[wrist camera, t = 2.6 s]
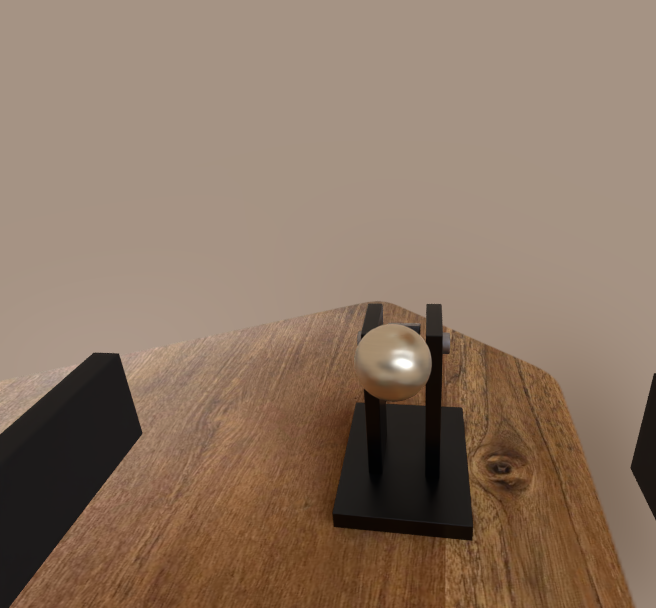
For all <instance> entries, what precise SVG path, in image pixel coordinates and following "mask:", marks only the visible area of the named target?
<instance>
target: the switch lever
mask: <svg viewBox="0 0 656 608" xmlns="http://www.w3.org/2000/svg"><path fill="white" fill-rule="evenodd" d="M431 367H432V359H431V354H430V351H429V348H428V346H427V344H426V342H425V341H424V339H423V338H422V337H421V336H420V323H388V324H386V325H382V326H379V327H376V328H374V329H372V330H371V331H369V332H368V333H367V334H366V335H365V336H364V337H363V338H362V340H361V341H360V343H359V344H358V346H357V349H356V352H355V356H354V368H355V372H356V375H357V378H358V380H359V382H360V384H361V385H362V386H363V388H364V389H365V390H366V391H367V392H369V393H370V394H371V395H373V396H374V397H376V398H378V399H381V400H385V401H392V402H395V401H402V400H406V399H408V398H411V397H412V396H414V395H416V394H417V393H418V392H419V391H420V390H421V389H422V388H423V387H424V386H425V384H426V383H427V381H428V379H429V376H430V373H431Z"/></svg>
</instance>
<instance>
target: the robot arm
mask: <svg viewBox="0 0 656 608" xmlns="http://www.w3.org/2000/svg"><path fill="white" fill-rule="evenodd" d="M141 435H142V430H141V426H140V423H139V420H138V416H137V413H136V409H135V406H134V403H133V399H132V396H131V393H130V389H129V386H128V383H127V379H126V376H125V373H124V369H123V366H122V362H121V359H120V356H119V354H115V353H93V354H92V355H91V356H89V357H88V358H87V359H86V360H85V361H84V362H83V363H81V364H80V365H79V366H78V367H77V368H76V369H75V370H73V371H72V372H71V373H70V374H69V375H68V376H67V377H65V378H64V379H63V380H62V381H61V382H60V383H59V384H57V385H56V386H55V387H54V388H53V389H52V390H51V391H49V392H48V393H47V394H46V395H45V396H44V397H43V398H41V399H40V400H39V401H38V402H37V403H36V404H35V405H33V406H32V407H31V408H30V409H29V410H28V411H27V412H25V413H24V414H23V415H22V416H21V417H20V418H19V419H17V420H16V421H15V422H14V423H13V424H12V425H11V426H9V427H8V428H7V429H6V430H5V431H4V432H3V433H1V434H0V608H9V607H10V606H11V604H12V603H13V602H14V600H15V599H16V598H17V596H18V595H19V594H20V592H21V591H22V590H23V589H24V587H25V586H26V585H27V583H28V582H29V581H30V579H31V578H32V577H33V576H34V574H35V573H36V572H37V570H38V569H39V568H40V566H41V565H42V564H43V563H44V561H45V560H46V559H47V557H48V556H49V555H50V553H51V552H52V551H53V549H54V548H55V547H56V546H57V544H58V543H59V542H60V540H61V539H62V538H63V536H64V535H65V534H66V533H67V531H68V530H69V529H70V527H71V526H72V525H73V523H74V522H75V521H76V520H77V518H78V517H79V516H80V514H81V513H82V512H83V510H84V509H85V508H86V506H87V505H88V504H89V503H90V501H91V500H92V499H93V497H94V496H95V495H96V493H97V492H98V491H99V490H100V488H101V487H102V486H103V484H104V483H105V482H106V480H107V479H108V478H109V477H110V475H111V474H112V473H113V471H114V470H115V469H116V467H117V466H118V465H119V463H120V462H121V461H122V460H123V458H124V457H125V456H126V454H127V453H128V452H129V450H130V449H131V448H132V447H133V445H134V444H135V443H136V441H137V440H138V439H139V437H140V436H141ZM631 470H632V472H633V474H634V476H635V478H636V481H637V482H638V485H639V487H640V489H641V491H642V493H643V494H644V497H645V499H646V501H647V503H648V505H649V507H650V509H651V511H652V513H653V515H654V517H655V519H656V373H654V376H653V380H652V384H651V388H650V392H649V396H648V400H647V404H646V408H645V412H644V416H643V420H642V424H641V428H640V432H639V436H638V440H637V444H636V448H635V452H634V456H633V460H632V464H631Z"/></svg>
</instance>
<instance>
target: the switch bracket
mask: <svg viewBox="0 0 656 608" xmlns="http://www.w3.org/2000/svg"><path fill="white" fill-rule="evenodd" d="M382 325H383V305H382V304H368V307H367V311H366V315H365V319H364V323H363V327H362V331H359V332H358V336H357V346H358V344H359V343H360V341H361V340H362V338H363V337H364V336H365V335H366V334H367V333H368V332H369V331H371V330H372V329H374V328H376V327H379V326H382ZM426 344H427V346H428V348H429V351H430V354H431V359H432V367H431V373H430V376H429V379H428V381H427V383H426V406H419V405H398V404H386V401H385V400H381V399H378V398H376V397H374V396H373V395H371V394H370V393H369V392H367V391H366V390H365V389H364V400H365V403H356V406H355V411H354V415H353V420H352V425H351V429H350V434H349V439H348V443H347V448H346V453H345V457H344V462H343V467H342V471H341V476H340V480H339V485H338V490H337V494H336V499H335V504H334V508H333V513H332V514H333V523H334V527H341V528H351V529H361V530H371V531H381V532H392V533H402V534H412V535H422V536H432V537H442V538H452V539H462V540H472V537H473V518H472V507H471V496H470V485H469V474H468V463H467V452H466V441H465V430H464V419H463V408H460V407H441V398H442V356H443V354H449V353H450V333H443V326H442V305H441V304H427V310H426Z"/></svg>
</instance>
